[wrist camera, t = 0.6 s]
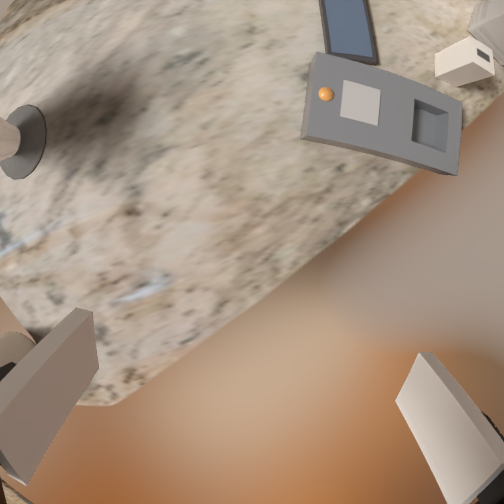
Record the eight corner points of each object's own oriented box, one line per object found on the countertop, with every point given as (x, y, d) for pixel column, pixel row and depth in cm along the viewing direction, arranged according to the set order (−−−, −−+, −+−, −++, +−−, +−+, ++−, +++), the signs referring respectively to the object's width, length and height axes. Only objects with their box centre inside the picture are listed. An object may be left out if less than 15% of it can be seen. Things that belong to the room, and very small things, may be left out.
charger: (434, 54, 29) (470, 35, 20) (455, 64, 29) (492, 49, 20) (435, 77, 30) (473, 61, 21) (456, 87, 30) (495, 75, 21)
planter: (14, 368, 43) (-14, 397, 32) (1, 316, 40) (-34, 342, 29) (59, 389, 43) (33, 425, 33) (48, 335, 40) (13, 370, 30)
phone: (315, -17, 27) (317, -21, 26) (360, -11, 27) (362, -14, 26) (326, 59, 30) (328, 56, 29) (374, 65, 30) (377, 62, 29)
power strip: (309, 63, 30) (316, 51, 26) (445, 106, 31) (462, 102, 27) (300, 139, 33) (306, 135, 29) (440, 174, 34) (457, 175, 30)
